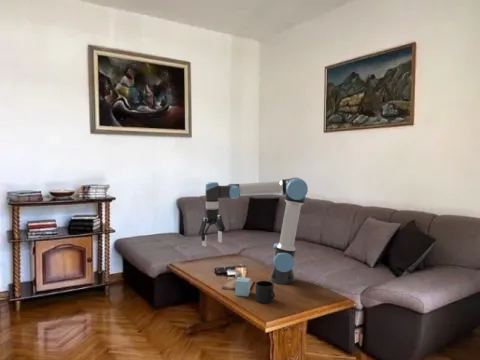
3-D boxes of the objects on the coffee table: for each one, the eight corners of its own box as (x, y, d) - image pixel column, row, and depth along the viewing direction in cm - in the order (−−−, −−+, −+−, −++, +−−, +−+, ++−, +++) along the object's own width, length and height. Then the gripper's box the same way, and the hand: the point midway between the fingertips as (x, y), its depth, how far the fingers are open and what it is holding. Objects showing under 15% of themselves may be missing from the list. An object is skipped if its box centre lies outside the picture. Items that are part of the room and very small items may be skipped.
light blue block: (250, 291, 211) (250, 276, 210) (248, 296, 204) (248, 280, 203) (237, 291, 212) (238, 276, 212) (235, 295, 205) (235, 280, 205)
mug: (267, 306, 190) (268, 289, 189) (251, 299, 199) (252, 283, 198) (280, 302, 196) (280, 285, 196) (264, 295, 205) (264, 279, 205)
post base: (253, 281, 228) (253, 270, 228) (249, 290, 212) (249, 278, 212) (228, 280, 231) (228, 268, 231) (222, 288, 215) (222, 276, 215)
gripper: (221, 205, 231) (221, 239, 233) (192, 210, 212) (192, 247, 213) (230, 206, 227) (230, 241, 228) (201, 211, 207) (201, 249, 209)
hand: (212, 244), depth 221 cm, fingers open, 13 cm apart
